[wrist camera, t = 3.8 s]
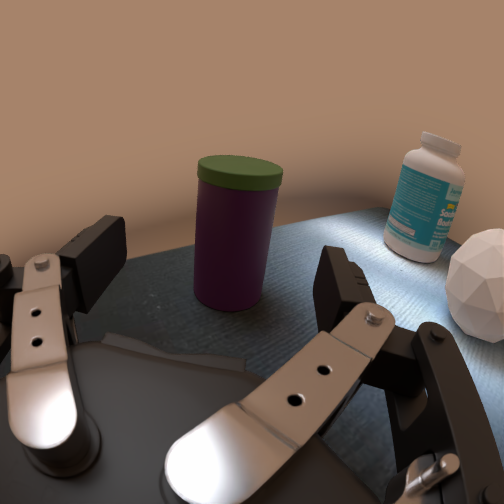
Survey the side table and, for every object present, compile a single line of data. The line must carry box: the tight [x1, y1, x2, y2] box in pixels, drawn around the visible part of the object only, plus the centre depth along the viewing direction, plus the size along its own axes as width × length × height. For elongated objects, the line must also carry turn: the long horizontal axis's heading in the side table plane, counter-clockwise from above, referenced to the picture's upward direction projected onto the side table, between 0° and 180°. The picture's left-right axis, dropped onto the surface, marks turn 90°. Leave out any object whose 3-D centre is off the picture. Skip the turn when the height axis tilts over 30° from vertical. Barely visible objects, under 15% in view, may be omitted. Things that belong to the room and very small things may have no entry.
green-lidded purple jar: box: [194, 155, 283, 311], centre depth 20 cm, size 5×5×9 cm
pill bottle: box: [383, 132, 465, 263], centre depth 29 cm, size 8×7×14 cm
